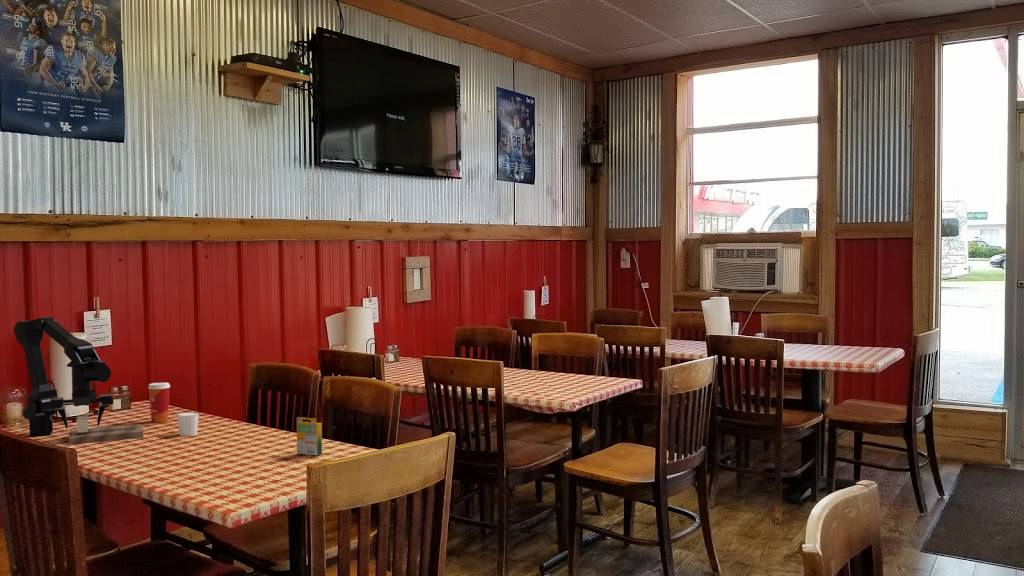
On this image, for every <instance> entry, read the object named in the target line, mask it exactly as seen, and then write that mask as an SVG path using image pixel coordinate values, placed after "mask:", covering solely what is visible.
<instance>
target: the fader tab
mask: <svg viewBox="0 0 1024 576" xmlns="http://www.w3.org/2000/svg"><path fill="white" fill-rule="evenodd" d="M88 417H89V416H88V415H86V416H77V419H76V422H77V429H76V430H78V433H88V429H89V427H88V426H89V424H88V422H89V419H88Z"/></svg>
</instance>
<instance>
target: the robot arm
mask: <svg viewBox="0 0 1024 576" xmlns="http://www.w3.org/2000/svg"><path fill="white" fill-rule="evenodd" d="M13 332H14V336H15V339H16V341H17V342H18V343H19V344H20V345H21V346H22V348H23V350H24V355H25V360H26V364H27V371H28V376H29V380H30V384H31V391H30V393H29V395H28V404H27V406H26V407H25V408H24V410H23V411H22V415H23V418H24V419H28V422H29V424H28V426H29V427H28V428H29V434H28V437H38V436H48V435H52V433H53V432H54V420H53V418H52V416H53V415H56V414H57V413H59V415H60V416H61V418H62V419H61V420H62V421H63V424H64V426H65V429H66V430H67V429H68V428H69V427H68V417H67V412H66V406H73V407H79V406H85V407H86V406H87V407H88V406H89V405H91V404H98V412H97V413H98V414H97V418H96V419H97V421H96V424H97V425H96V426H98V427H99V426H100V423H101V420H102V417H103V414H104V411H105V409H106V408H109V407H110V405H114V395H113V394H112V393H105V394H104V393H103V394H99V397H97V389H92V382H96V383H97V382H98V383H106V382H107V381H109V380H110V378H111V375H112V371H111V368H110V366H109V365H107V364H106V360H101V358H100V356H99V355H98V353H97V351H96V349H95V347H94V345H93V344H92V343H91V342H89V341H87V340H86V339H82V338H79V337H76V336H74V335H73V334H72V333H71V332H70V331H69V330H67V329H66V328H64V326H62V325H60V324H59V323H58V322H57V321H56V319H55V318H54V317H52V316H43V317H38V318H35V319H31V320H22V321H21V320H19V321H17V322H16V324H15V325H14V327H13ZM44 334H46V335H48V337H50V338H51V339H52V340H53V341H55V343H57V344H58V345H59V346H60V347H61V348H63V353H64V355H65V356H66V357H67V358H68V359H69V360H70V361H69V362H68V364H66V367H67V368H71V399H64V397H63V396H62V397H58V390H57V389H56V388H52V387H51V386H50V385H49V381H48V375H47V371H46V365H45V362H44V356H43V352H42V345H41V344H42V341H43V339H44V336H45V335H44Z"/></svg>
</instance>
